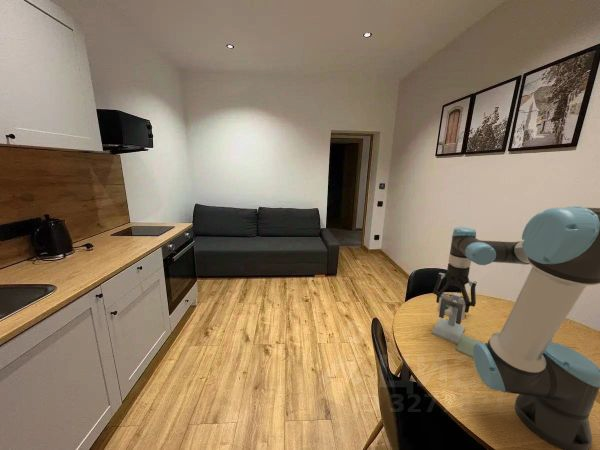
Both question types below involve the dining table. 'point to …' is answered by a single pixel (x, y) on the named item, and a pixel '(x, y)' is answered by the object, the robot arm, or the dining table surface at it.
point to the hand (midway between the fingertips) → (450, 313)
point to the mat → (466, 345)
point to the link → (453, 304)
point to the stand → (450, 324)
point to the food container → (449, 297)
